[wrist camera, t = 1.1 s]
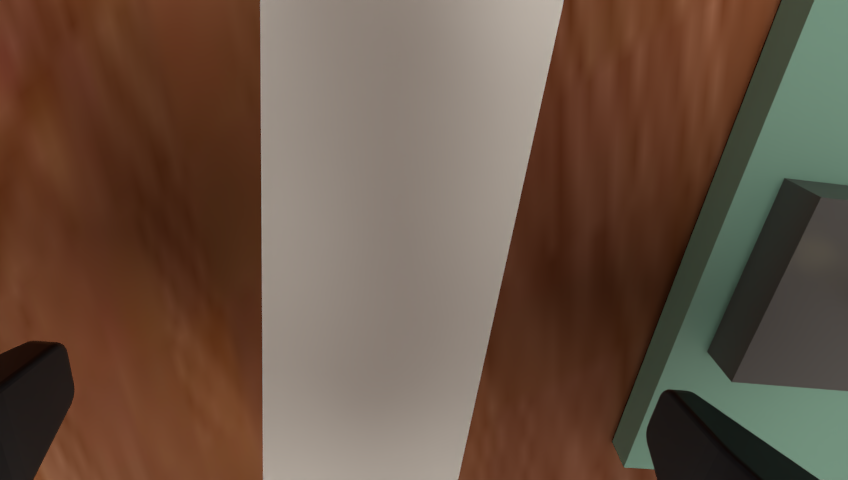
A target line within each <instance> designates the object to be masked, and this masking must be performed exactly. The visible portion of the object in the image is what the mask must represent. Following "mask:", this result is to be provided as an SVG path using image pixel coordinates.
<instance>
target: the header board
mask: <svg viewBox="0 0 848 480" xmlns="http://www.w3.org/2000/svg"><path fill="white" fill-rule="evenodd" d="M668 389H673V390H686V391H691V392H693V393H695V394H696V395H698V396H699V397H701V398H702V399H704V400H705V401H707V402H708V403H710V404H711V405H712V406H714V407H715V408H717V409H718V410H720V411H721V412H723V413H724V414H725V415H727V416H728V417H730V418H731V419H733V420H734V421H736V422H737V423H738V424H740V425H741V426H743V427H744V428H746V429H747V430H749V431H750V432H752V433H753V434H754V435H756V436H757V437H759V438H760V439H762V440H763V441H765V442H766V443H767V444H769V445H770V446H772V447H773V448H775V449H776V450H778V451H779V452H781V453H782V454H783V455H785V456H786V457H788V458H789V459H791V460H792V461H794V462H795V463H796V464H798V465H799V466H801V467H802V468H804V469H805V470H807V471H808V472H810V473H811V474H812V475H814V476H815V477H817V478H818V479H820V480H848V0H782V1H781V4H780V6H779V9H778V11H777V14H776V17H775V19H774V22H773V24H772V27H771V30H770V32H769V35H768V37H767V40H766V43H765V45H764V48H763V50H762V53H761V56H760V58H759V61H758V63H757V66H756V69H755V71H754V74H753V77H752V79H751V82H750V84H749V87H748V90H747V92H746V95H745V97H744V100H743V103H742V105H741V108H740V110H739V113H738V116H737V118H736V121H735V123H734V126H733V129H732V131H731V134H730V136H729V139H728V142H727V144H726V147H725V149H724V152H723V155H722V157H721V160H720V163H719V165H718V168H717V170H716V173H715V176H714V178H713V181H712V183H711V186H710V189H709V191H708V194H707V196H706V199H705V202H704V204H703V207H702V209H701V212H700V215H699V217H698V220H697V222H696V225H695V228H694V230H693V233H692V235H691V238H690V241H689V243H688V246H687V249H686V251H685V254H684V256H683V259H682V262H681V264H680V267H679V269H678V272H677V275H676V277H675V280H674V282H673V285H672V288H671V290H670V293H669V295H668V298H667V301H666V303H665V306H664V308H663V311H662V314H661V316H660V319H659V321H658V324H657V327H656V329H655V332H654V335H653V337H652V340H651V342H650V345H649V348H648V350H647V353H646V355H645V358H644V361H643V363H642V366H641V368H640V371H639V374H638V376H637V379H636V381H635V384H634V387H633V389H632V392H631V394H630V397H629V400H628V402H627V405H626V407H625V410H624V413H623V415H622V418H621V421H620V423H619V426H618V428H617V431H616V434H615V436H614V439H613V441H612V442H613V444H614V447H615V449H616V451H617V453H618V455H619V458H620V460H621V462H622V464H623V467H627V468H643V469H654V466H653V463H652V459H651V456H650V452H649V449H648V445H647V440H646V430H647V426H648V423H649V421H650V418H651V416H652V414H653V411H654V409H655V406H656V404H657V401H658V399H659V397H660V395H661V393H662V392H663V391H665V390H668Z"/></svg>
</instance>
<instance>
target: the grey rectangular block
mask: <svg viewBox="0 0 848 480" xmlns="http://www.w3.org/2000/svg"><path fill="white" fill-rule="evenodd" d="M563 2H564V0H260V63H261V227H262V391H263V480H458V477H459V473H460V468H461V464H462V459H463V455H464V450H465V446H466V441H467V437H468V432H469V428H470V423H471V418H472V414H473V409H474V405H475V400H476V396H477V391H478V387H479V382H480V378H481V373H482V369H483V364H484V360H485V355H486V351H487V346H488V342H489V337H490V332H491V328H492V323H493V319H494V314H495V310H496V305H497V301H498V296H499V292H500V287H501V283H502V278H503V274H504V269H505V265H506V260H507V256H508V251H509V246H510V242H511V237H512V233H513V228H514V224H515V219H516V215H517V210H518V206H519V201H520V197H521V192H522V188H523V183H524V179H525V174H526V170H527V165H528V160H529V156H530V151H531V147H532V142H533V138H534V133H535V129H536V124H537V120H538V115H539V111H540V106H541V102H542V97H543V93H544V88H545V84H546V79H547V74H548V70H549V65H550V61H551V56H552V52H553V47H554V43H555V38H556V34H557V29H558V25H559V20H560V16H561V11H562V7H563Z"/></svg>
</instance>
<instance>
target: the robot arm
mask: <svg viewBox="0 0 848 480" xmlns="http://www.w3.org/2000/svg"><path fill="white" fill-rule="evenodd" d="M73 396H74V383H73V378H72V373H71V368H70V363H69V358H68V353H67V350H66V348H65V346H64V345H63V344H61V343H58V342H46V341H29V342H27V343H24V344H22V345H20V346H17V347H15V348H13V349H11V350H8V351H6V352H4V353H2V354H0V480H33V479H34V477H35V475H36V473H37V471H38V469H39V467H40V465H41V463H42V461H43V459H44V457H45V455H46V453H47V451H48V449H49V447H50V445H51V443H52V441H53V439H54V437H55V435H56V433H57V431H58V429H59V427H60V425H61V423H62V421H63V419H64V417H65V415H66V413H67V411H68V409H69V407H70V405H71V403H72V400H73ZM646 440H647V445H648V449H649V452H650V456H651V459H652V463H653V466H654V470H655V473H656V477H657V480H820V479H818V478H817V477H815V476H814V475H812V474H811V473H810V472H808V471H807V470H805V469H804V468H802V467H801V466H799V465H798V464H796V463H795V462H794V461H792V460H791V459H789V458H788V457H786V456H785V455H783V454H782V453H781V452H779V451H778V450H776V449H775V448H773V447H772V446H770V445H769V444H767V443H766V442H765V441H763V440H762V439H760V438H759V437H757V436H756V435H754V434H753V433H752V432H750V431H749V430H747V429H746V428H744V427H743V426H741V425H740V424H738V423H737V422H736V421H734V420H733V419H731V418H730V417H728V416H727V415H725V414H724V413H723V412H721V411H720V410H718V409H717V408H715V407H714V406H712V405H711V404H710V403H708V402H707V401H705V400H704V399H702V398H701V397H699V396H698V395H696V394H695V393H693V392H691V391H686V390H673V389H668V390H665V391H663V392H662V393H661V395H660V397H659V399H658V401H657V404H656V406H655V409H654V411H653V414H652V416H651V418H650V421H649V423H648V426H647V430H646Z"/></svg>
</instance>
